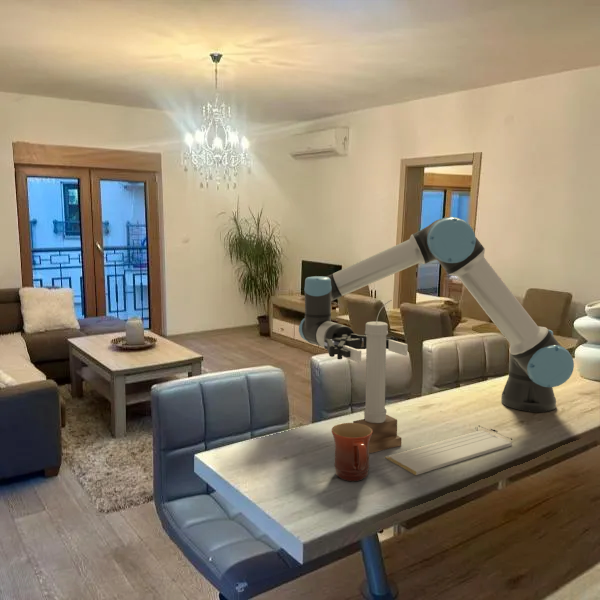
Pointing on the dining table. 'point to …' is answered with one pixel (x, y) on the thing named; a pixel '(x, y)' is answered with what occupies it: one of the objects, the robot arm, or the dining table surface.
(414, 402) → the dining table surface
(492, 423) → the dining table surface
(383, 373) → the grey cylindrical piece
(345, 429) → the mug
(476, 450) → the baseboard molding
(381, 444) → the walnut stepped block
